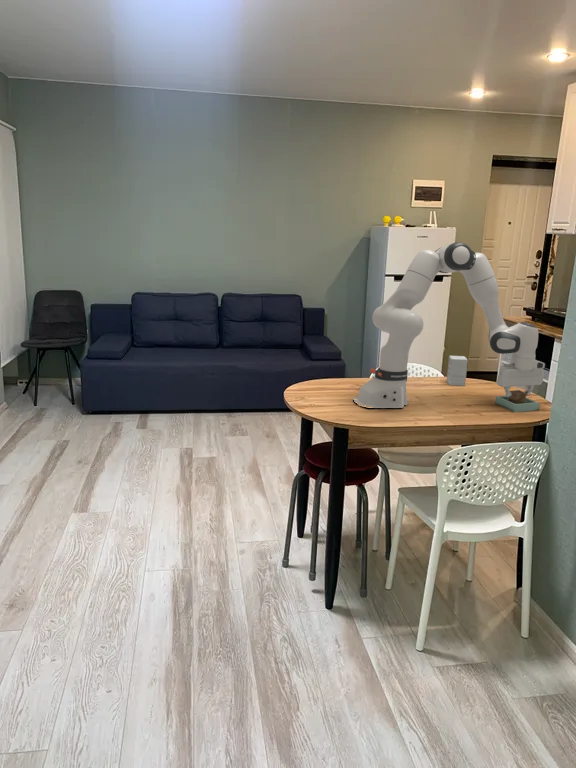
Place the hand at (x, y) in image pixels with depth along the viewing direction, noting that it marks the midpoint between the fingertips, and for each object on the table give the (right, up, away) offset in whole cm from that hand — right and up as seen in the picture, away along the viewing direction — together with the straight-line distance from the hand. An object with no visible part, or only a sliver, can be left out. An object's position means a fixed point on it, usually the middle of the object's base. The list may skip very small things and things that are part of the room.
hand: (517, 396), depth 236 cm
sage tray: (0, -4, +1) cm, 5 cm away
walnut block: (0, -4, +1) cm, 4 cm away
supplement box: (-16, +5, +34) cm, 38 cm away
